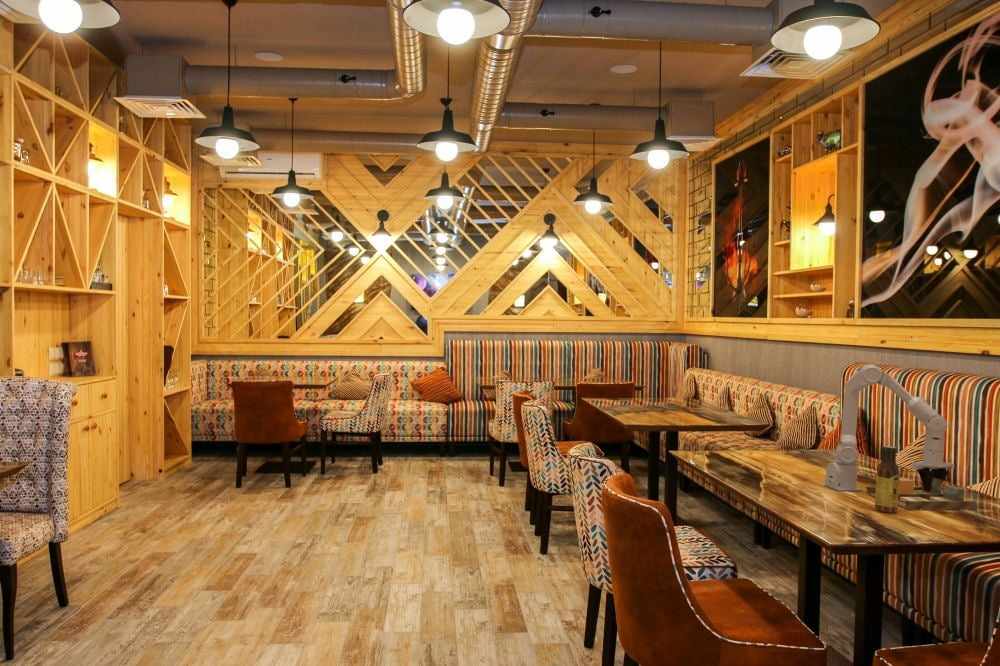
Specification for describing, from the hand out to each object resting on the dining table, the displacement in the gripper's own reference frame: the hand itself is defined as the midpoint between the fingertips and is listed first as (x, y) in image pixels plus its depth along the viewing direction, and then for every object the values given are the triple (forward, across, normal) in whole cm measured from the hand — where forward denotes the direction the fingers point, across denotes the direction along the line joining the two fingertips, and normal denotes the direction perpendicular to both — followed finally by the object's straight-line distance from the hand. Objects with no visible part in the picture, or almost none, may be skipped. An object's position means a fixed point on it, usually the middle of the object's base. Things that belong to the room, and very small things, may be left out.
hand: (931, 490), depth 239 cm
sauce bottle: (+3, -28, -14) cm, 32 cm away
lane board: (+3, -8, -4) cm, 10 cm away
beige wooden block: (+3, -6, 0) cm, 7 cm away
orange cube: (+1, -11, 0) cm, 11 cm away
